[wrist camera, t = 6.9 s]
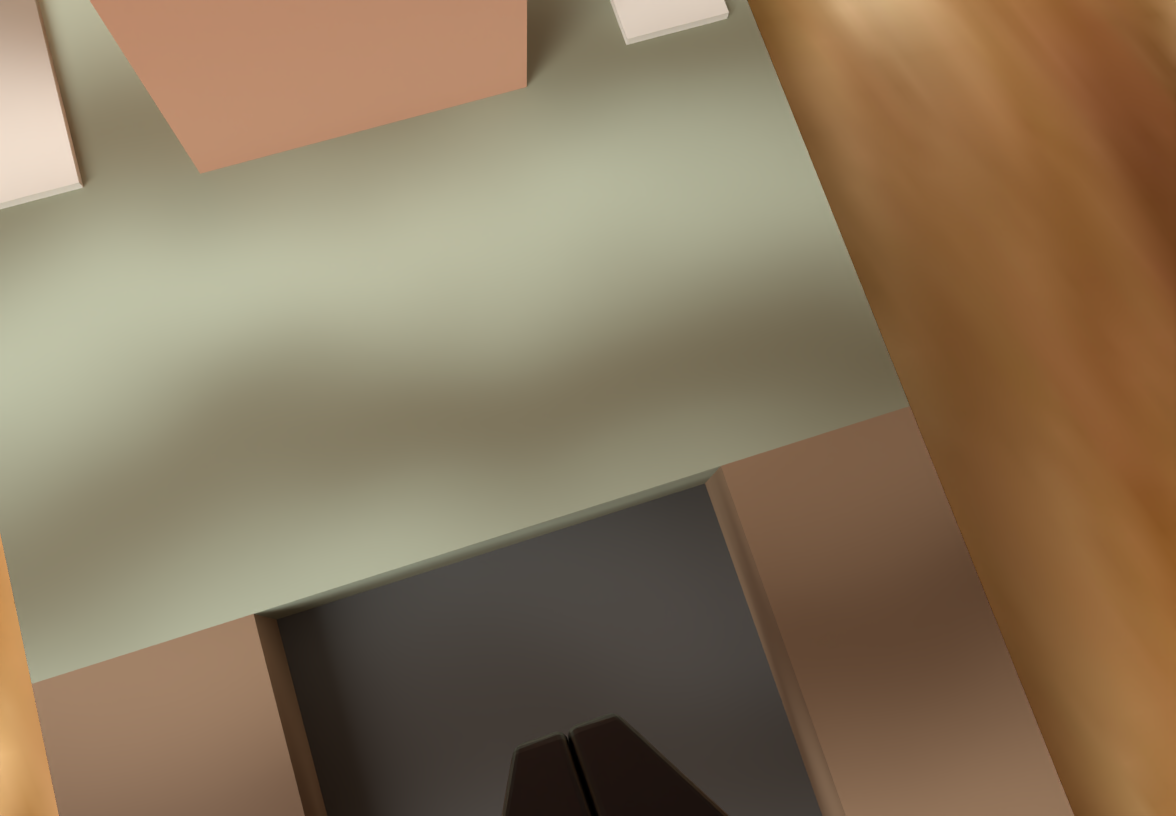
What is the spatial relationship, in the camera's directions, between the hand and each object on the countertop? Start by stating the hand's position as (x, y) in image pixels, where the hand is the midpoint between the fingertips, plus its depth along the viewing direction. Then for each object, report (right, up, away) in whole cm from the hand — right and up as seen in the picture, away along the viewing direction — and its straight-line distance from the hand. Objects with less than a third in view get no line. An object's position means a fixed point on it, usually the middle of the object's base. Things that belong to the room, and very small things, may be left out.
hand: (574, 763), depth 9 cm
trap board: (-4, +8, +13) cm, 16 cm away
